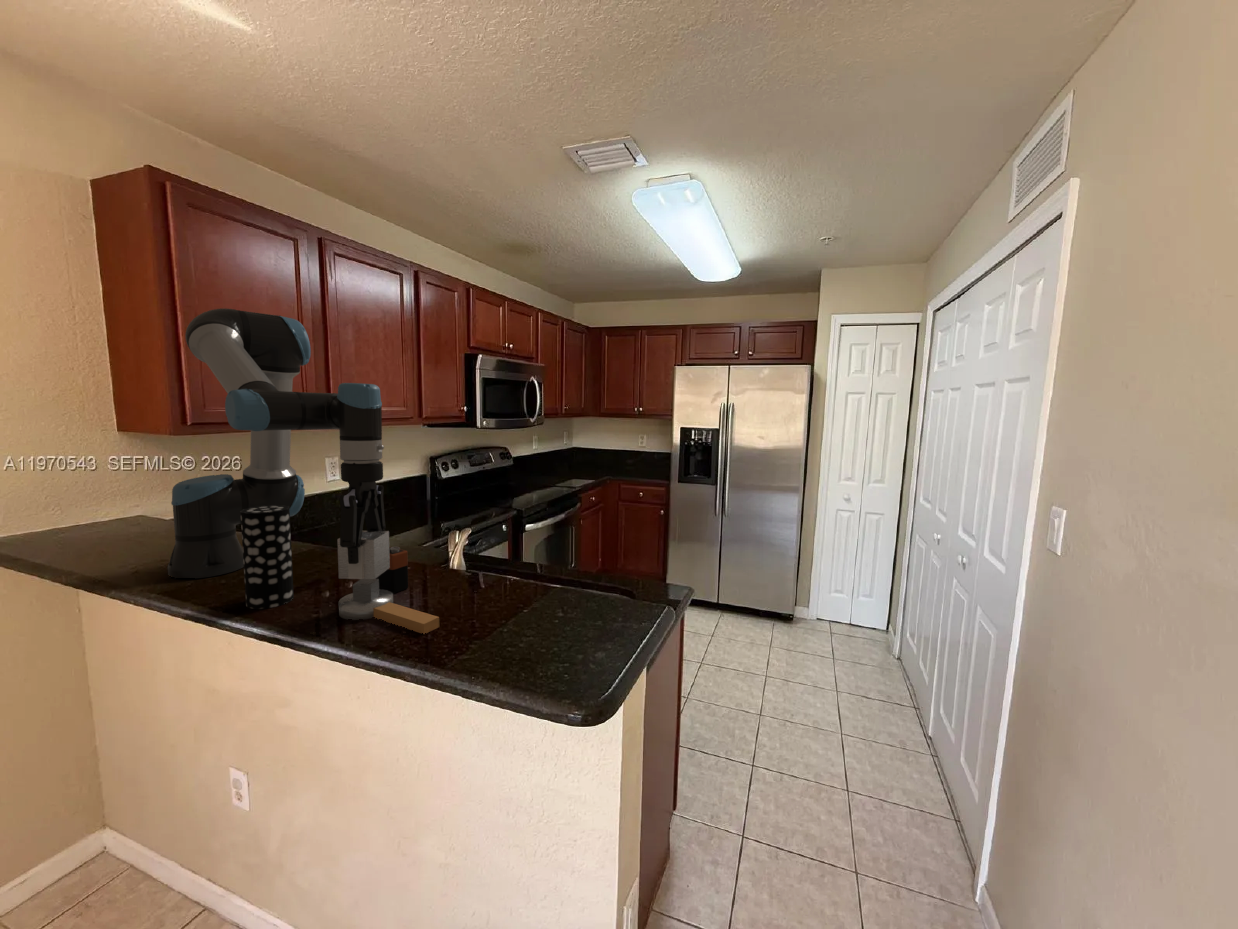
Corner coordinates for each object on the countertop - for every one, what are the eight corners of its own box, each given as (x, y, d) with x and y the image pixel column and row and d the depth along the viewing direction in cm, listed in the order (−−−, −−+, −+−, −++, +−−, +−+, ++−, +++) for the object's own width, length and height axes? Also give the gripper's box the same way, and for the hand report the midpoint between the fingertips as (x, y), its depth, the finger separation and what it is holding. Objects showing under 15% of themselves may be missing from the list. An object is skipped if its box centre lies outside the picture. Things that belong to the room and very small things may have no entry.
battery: (392, 594, 110) (391, 551, 108) (373, 588, 113) (371, 546, 112) (409, 588, 113) (408, 546, 112) (389, 583, 117) (388, 542, 115)
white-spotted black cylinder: (289, 591, 110) (284, 503, 108) (297, 602, 104) (293, 509, 102) (243, 600, 104) (237, 508, 102) (249, 612, 98) (243, 515, 96)
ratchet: (328, 613, 99) (327, 584, 98) (372, 597, 108) (372, 570, 107) (409, 641, 88) (408, 609, 87) (451, 620, 97) (451, 591, 96)
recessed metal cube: (338, 578, 97) (337, 539, 96) (356, 567, 104) (355, 530, 103) (374, 579, 97) (373, 539, 96) (389, 567, 104) (388, 531, 103)
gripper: (356, 467, 88) (360, 589, 91) (400, 456, 108) (403, 557, 110) (314, 466, 88) (319, 589, 90) (366, 456, 108) (369, 557, 110)
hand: (365, 571), depth 100 cm, fingers closed on recessed metal cube, 7 cm apart
